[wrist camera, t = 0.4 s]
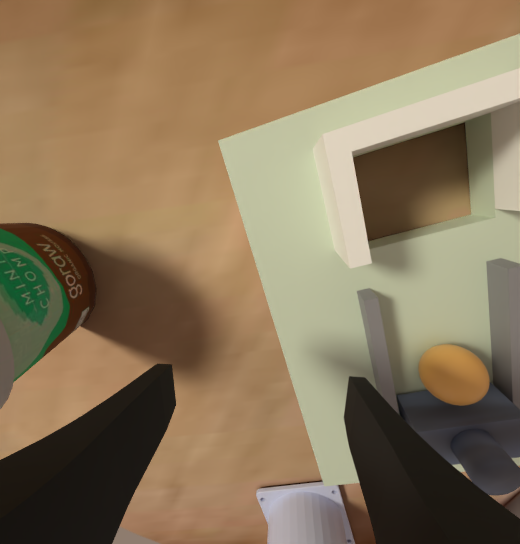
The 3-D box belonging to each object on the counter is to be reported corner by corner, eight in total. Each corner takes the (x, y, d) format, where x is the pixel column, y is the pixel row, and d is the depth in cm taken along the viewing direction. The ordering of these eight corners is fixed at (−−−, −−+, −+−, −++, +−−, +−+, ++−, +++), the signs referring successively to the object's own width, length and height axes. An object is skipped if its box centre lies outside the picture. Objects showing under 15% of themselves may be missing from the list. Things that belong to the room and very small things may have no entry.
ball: (465, 372, 18) (507, 414, 14) (412, 381, 18) (440, 424, 15) (461, 328, 17) (505, 362, 14) (405, 339, 17) (433, 374, 14)
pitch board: (569, 432, 21) (626, 480, 17) (321, 462, 24) (327, 508, 21) (586, 20, 13) (690, -39, 10) (225, 146, 17) (210, 134, 13)
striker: (490, 415, 18) (562, 493, 14) (402, 427, 19) (440, 504, 15) (488, 380, 18) (564, 450, 13) (396, 395, 19) (434, 465, 14)
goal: (515, 203, 14) (597, 208, 11) (334, 250, 16) (350, 268, 12) (512, 83, 13) (607, 38, 9) (312, 149, 15) (322, 134, 11)
